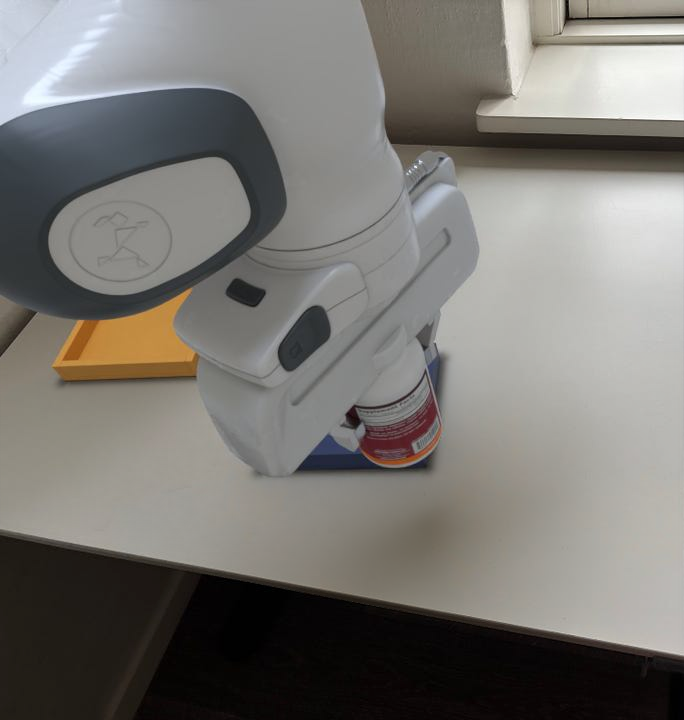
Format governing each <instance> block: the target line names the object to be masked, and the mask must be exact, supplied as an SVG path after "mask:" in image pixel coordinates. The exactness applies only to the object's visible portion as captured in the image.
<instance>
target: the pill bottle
mask: <svg viewBox="0 0 684 720" xmlns="http://www.w3.org/2000/svg"><path fill="white" fill-rule="evenodd" d="M406 343H407V333H406V331H405V328H404V325H403V324H402V325H401V326H400V327H399V328H398V329H397V330H396V331H395V332H394V333H393V334H392V335H391V337H390V338H389V339H388V340H387V341H386V342H385V343H384V344H383V345H382V346H381V347H380V349H379V350H378V351H377V352H376V353H375V354H374V355H373V356H372V361H373V363H374V366H375V369H376V370H377V371H381V370H382V372H381V375H380V376H379V377H378V378H377V380H376V381H375V382H374V383H373V384H372V385H371V386H370V387H369V389H368V390H367V391H366V392H365V393H364V394H363V395H362V396H361V397H360V399H359V400H358V401H357V402H356V403H355V404H354V405H353V406H352V407H351V409H350V410H349V411H348V412H347V413H349V414H350V415H351V417H356V418H358V419H360V420H362V421H364V423H365V425H366V431H368V433H369V435H368V436H367V437H366V438H365V439H364V441H363V442H362V443H361V444H360V445H359V448H360V449H361V451H362V453H363V454H364V455H365V456H366V457H367V458H368V459H369V460H370V461H372V462H373V463H375V464H377V465H380V466H383V467H389V468H388V469H394V468H395V469H399V468H400V469H401V468H407V467H406V466H409V465H412V464H415V463H417V462H419V461H421V460H422V459H424V458H425V457H426V456H428V457H429V455H430V454H432V452H433V451H434V450H435V449H436V447H437V446H438V444H439V442H440V441H441V440H440V439H441V438H442V434H443V417H442V413H441V409H440V406H439V402H438V398H437V393H436V394H435V391H434V387H433V383H432V380H431V376H430V373H429V369H428V365H427V361H426V358H425V354H424V351H423V349H422V346H421V344H420V342H419V341H418V339H417V338H416V337H414V338H413V340H412V341H411V342H410V343H409V344H408V345H407V346H406Z"/></svg>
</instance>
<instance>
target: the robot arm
mask: <svg viewBox="0 0 684 720" xmlns="http://www.w3.org/2000/svg"><path fill="white" fill-rule="evenodd" d="M385 113H386V89H385V86H384V80H383V76H382V74H381V69H380V65H379V60H378V56H377V53H376V49H375V46H374V41H373V38H372V34H371V31H370V27H369V23H368V20H367V17H366V13H365V10H364V7H363V4H362V1H361V0H0V296H2V297H3V298H5V299H7V300H9V301H10V302H12V303H14V304H16V305H18V306H21V307H23V308H25V309H27V310H31V311H33V312H36V313H39V314H42V315H46V316H50V317H54V318H59V319H65V320H75V321H78V320H110V319H117V318H123V317H127V316H132V315H136V314H139V313H142V312H145V311H148V310H150V309H153V308H155V307H158V306H160V305H162V304H164V303H166V302H168V301H169V300H171V299H173V298H175V297H177V296H178V295H180V294H182V293H183V292H185V291H187V290H188V289H190V288H192V287H193V286H194V288H193V289H192V290H191V292H190V293H189V295H188V296H187V297H186V299H185V300H184V302H183V303H182V304H181V306H180V307H179V309H178V311H177V312H176V314H175V317H174V320H173V327H174V330H175V333H176V334H177V336H178V337H179V339H180V340H181V341H182V342H183V343H184V344H186V345H187V346H188V347H189V348H191V349H192V350H193V351H195V352H196V353H197V354H199V355H200V358H199V361H198V365H197V374H196V375H197V376H196V385H197V388H198V392H199V395H200V398H201V400H202V403H203V405H204V407H205V409H206V411H207V414H208V416H209V418H210V420H211V422H212V425H214V429H216V431H217V433H218V434H219V437H220V439H221V440H222V441H223V443H224V445H225V446H226V447H227V449H228V450H229V451H230V452H231V453H232V455H233V456H235V457H236V458H237V459H238V460H240V461H241V462H242V463H244V464H245V465H246V466H248V467H250V468H252V469H253V470H255V471H257V472H258V473H260V474H262V475H264V476H266V477H268V478H272V479H274V478H276V479H277V478H286V477H289V476H291V475H292V474H294V472H296V470H298V469H297V468H298V467H299V465H300V464H301V463H302V462H303V461H304V460H305V459H306V457H307V456H308V455H309V454H310V453H311V452H312V451H313V450H314V449H315V447H316V446H317V445H318V444H319V443H320V442H321V441H322V440H323V439H324V437H325V436H326V435H327V434H329V435H331V436H333V439H334V440H335V441H336V442H337V443H338V444H339V445H341V446H343V447H345V448H346V449H348V450H350V451H352V452H355V451H356V449H357V448H358V447H359V445H360V444H361V443H362V442H363V441H364V439H365V438H366V437H367V436H368V435H369V433H368V431H366V425H365V423H364V421H362V420H360V419H358V418H356V417H351V415H350V414H349V413H347V412H348V411H349V410H350V409H351V407H352V406H353V405H354V404H355V403H356V402H357V401H358V400H359V399H360V397H361V396H362V395H363V394H364V393H365V392H366V391H367V390H368V389H369V387H370V386H371V385H372V384H373V383H374V382H375V381H376V380H377V378H378V377H379V376H380V375H381V372H382V370H381V371H377V370H376V369H375V366H374V363H373V361H372V356H373V355H374V354H375V353H376V352H377V351H378V350H379V349H380V347H381V346H382V345H383V344H384V343H385V342H386V341H387V340H388V339H389V338H390V337H391V335H392V334H393V333H394V332H395V331H396V330H397V329H398V328H399V327H400V326H401V325H402V324H403V325H404V328H405V331H406V333H407V343H406V346H407V345H408V344H409V343H410V342H411V341H412V340H413V338H414V337H416V338H417V339H418V341H419V342H420V344H421V346H422V349H423V351H424V354H425V358H426V361H427V365H429V364H430V363H431V362H432V361H433V360H434V359H435V357H436V356H437V353H436V349H435V345H434V343H435V340H436V336H437V332H438V329H439V324H440V320H441V315H442V313H441V309H442V307H443V306H444V305H445V304H446V303H448V301H449V300H450V299H451V298H452V296H453V295H455V293H456V292H457V291H458V290H459V289H460V288H461V286H462V285H463V284H464V283H465V282H466V281H467V280H468V279H469V277H471V276H472V274H474V272H475V271H476V269H477V265H478V262H479V258H480V251H481V250H480V243H479V238H478V234H477V230H476V229H477V228H476V226H475V222H474V219H473V215H472V212H471V210H470V207H469V203H468V201H467V198H466V196H465V195H464V193H463V192H462V190H461V189H459V188H458V179H457V174H456V168H455V163H454V160H453V158H452V157H450V156H449V155H448V153H445V152H444V151H440V150H439V151H433V150H427V151H423V152H422V153H420V154H419V155H418V156H417V157H416V158H415V159H414V160H413V161H412V163H411V165H409V166H408V168H407V169H405V170H404V168H403V165H402V162H401V159H400V157H399V155H398V153H397V152H396V150H395V149H394V147H393V145H392V144H391V142H390V140H389V137H388V135H387V130H386V127H385V126H386V125H385Z"/></svg>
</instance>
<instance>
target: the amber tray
mask: <svg viewBox="0 0 684 720" xmlns="http://www.w3.org/2000/svg"><path fill="white" fill-rule="evenodd" d="M193 288H194V286H193V287H192V288H190V289H188V290H187V291H185V292H183V293H182V294H180V295H178V296H177V297H175V298H173V299H171V300H169V301H168V302H166V303H164V304H162V305H160V306H158V307H155V308H153V309H150V310H148V311H145V312H142V313H139V314H136V315H132V316H127V317H123V318H117V319H110V320H76V324H75V325H74V327H73V328H72V330H71V332H70V334H69V336H68V337H67V339H66V340H65V342H64V344H63V346H62V347H61V349H60V351H59V353H58V355H57V356H56V358H55V360H54V361H53V364H52V365H51V368H52V369H53V370H54V371H55V372H56V373H57V375H59V376H60V377H61V378H62V380H63V381H65V382H67V381H68V382H70V381H71V382H72V381H93V380H120V379H122V380H123V379H145V378H147V379H148V378H170V377H171V378H173V377H174V378H175V377H177V378H178V377H197V375H196V374H197V365H198V361H199V358H200V355H199V354H197V353H196V352H195V351H193V350H192V349H191V348H189V347H188V346H187V345H186V344H184V343H183V342H182V341H181V340H180V339H179V337H178V336H177V334H176V333H175V330H174V327H173V320H174V317H175V314H176V312H177V311H178V309H179V307H180V306H181V304H182V303H183V302H184V300H185V299H186V297H187V296H188V295H189V293H190V292H191V290H192V289H193Z"/></svg>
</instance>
